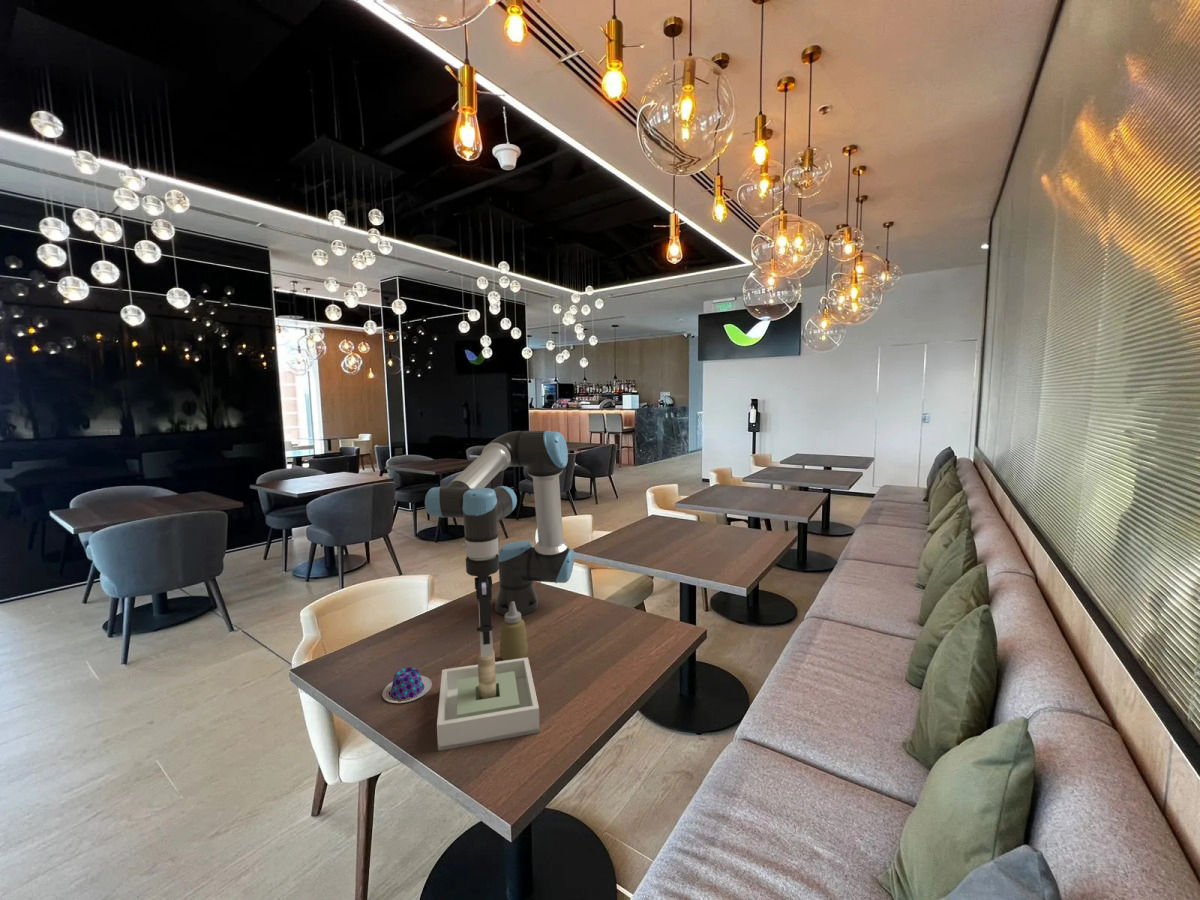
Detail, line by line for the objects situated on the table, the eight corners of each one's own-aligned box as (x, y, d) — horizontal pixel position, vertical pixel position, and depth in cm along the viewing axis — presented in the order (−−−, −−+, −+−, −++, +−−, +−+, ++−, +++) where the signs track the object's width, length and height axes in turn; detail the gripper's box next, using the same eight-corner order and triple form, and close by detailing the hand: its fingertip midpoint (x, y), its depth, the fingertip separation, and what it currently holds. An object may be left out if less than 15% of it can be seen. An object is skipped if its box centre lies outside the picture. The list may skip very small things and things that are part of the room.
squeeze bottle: (522, 671, 137) (520, 609, 134) (495, 668, 138) (493, 607, 136) (532, 656, 144) (530, 597, 142) (506, 653, 146) (504, 595, 144)
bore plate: (458, 694, 125) (458, 679, 124) (514, 685, 128) (514, 671, 128) (457, 731, 112) (456, 714, 111) (520, 720, 115) (519, 704, 115)
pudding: (407, 673, 137) (406, 656, 136) (441, 683, 132) (440, 665, 131) (371, 698, 126) (370, 679, 125) (407, 710, 121) (406, 690, 120)
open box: (443, 691, 128) (442, 669, 127) (528, 678, 133) (527, 657, 133) (438, 751, 107) (436, 725, 106) (539, 732, 112) (539, 708, 112)
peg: (479, 703, 121) (477, 649, 120) (496, 700, 122) (494, 647, 121) (480, 713, 118) (477, 658, 116) (497, 710, 119) (494, 655, 117)
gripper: (465, 540, 126) (469, 618, 129) (465, 577, 102) (469, 672, 105) (495, 537, 128) (498, 614, 131) (501, 573, 104) (505, 666, 107)
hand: (486, 640), depth 118 cm, fingers open, 13 cm apart
